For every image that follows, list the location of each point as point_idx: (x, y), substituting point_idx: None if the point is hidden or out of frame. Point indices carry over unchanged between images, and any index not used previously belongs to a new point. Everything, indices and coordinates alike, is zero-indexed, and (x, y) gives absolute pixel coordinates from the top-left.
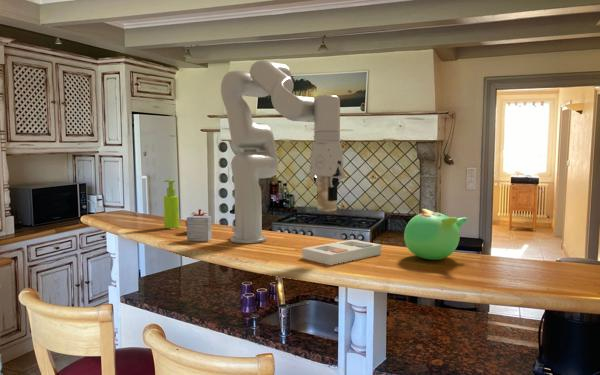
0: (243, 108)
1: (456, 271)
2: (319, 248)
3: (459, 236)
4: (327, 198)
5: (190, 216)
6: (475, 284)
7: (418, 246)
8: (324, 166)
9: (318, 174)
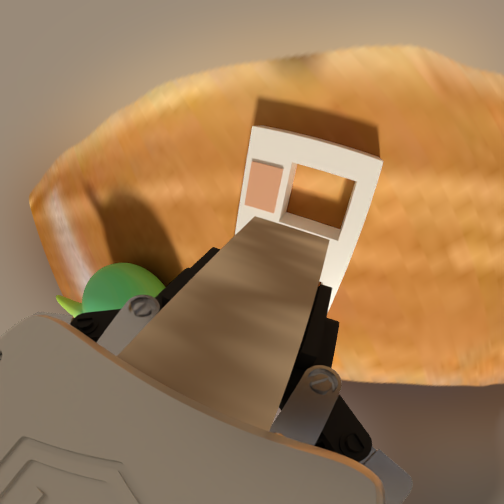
0: None
1: (98, 230)
2: (348, 209)
3: None
4: (221, 251)
5: None
6: (66, 180)
7: (125, 265)
8: (27, 431)
9: (198, 422)
